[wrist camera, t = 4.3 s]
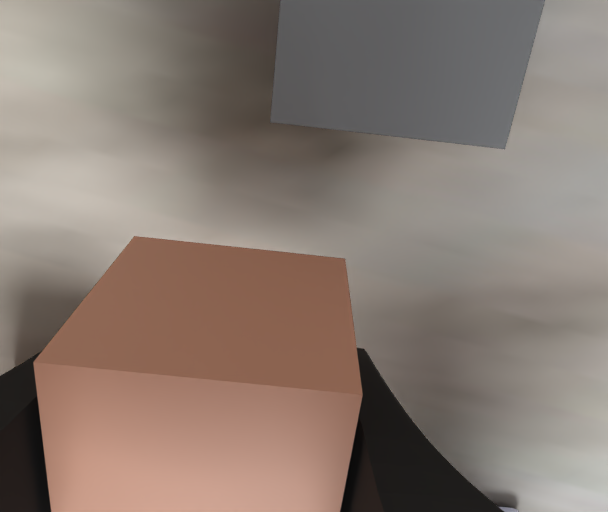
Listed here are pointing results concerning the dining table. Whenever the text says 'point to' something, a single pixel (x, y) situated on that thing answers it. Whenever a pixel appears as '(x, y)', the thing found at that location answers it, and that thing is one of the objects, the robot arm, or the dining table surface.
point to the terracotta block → (203, 384)
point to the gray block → (404, 66)
